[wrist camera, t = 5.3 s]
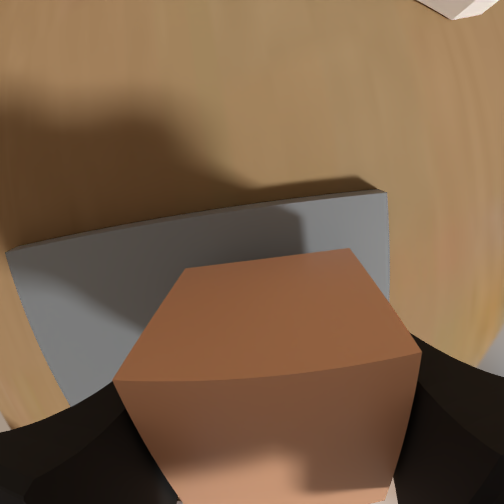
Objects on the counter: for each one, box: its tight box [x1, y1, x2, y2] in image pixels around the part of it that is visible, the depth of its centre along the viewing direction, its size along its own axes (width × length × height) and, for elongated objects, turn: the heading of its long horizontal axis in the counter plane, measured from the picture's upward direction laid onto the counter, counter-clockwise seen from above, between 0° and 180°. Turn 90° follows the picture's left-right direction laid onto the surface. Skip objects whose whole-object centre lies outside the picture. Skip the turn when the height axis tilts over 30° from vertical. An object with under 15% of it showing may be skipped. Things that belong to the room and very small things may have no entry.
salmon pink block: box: [112, 248, 422, 504], centre depth 8 cm, size 5×5×6 cm
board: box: [5, 189, 390, 407], centre depth 14 cm, size 13×17×1 cm
